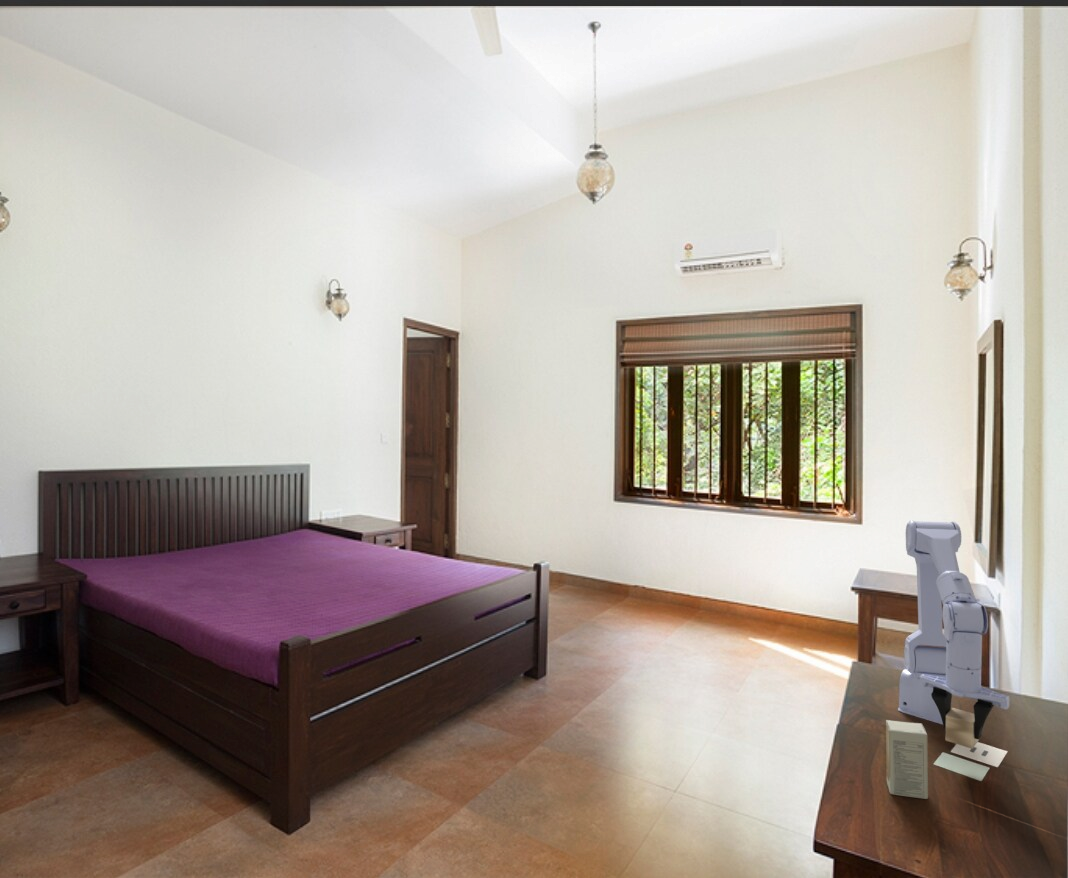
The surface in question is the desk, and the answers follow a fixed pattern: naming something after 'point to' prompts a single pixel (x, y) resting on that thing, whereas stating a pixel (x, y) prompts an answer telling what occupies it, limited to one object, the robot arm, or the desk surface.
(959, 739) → the maple block
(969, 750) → the tile
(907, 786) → the skincare box
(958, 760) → the sage coaster
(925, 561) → the robot arm
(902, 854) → the desk surface
